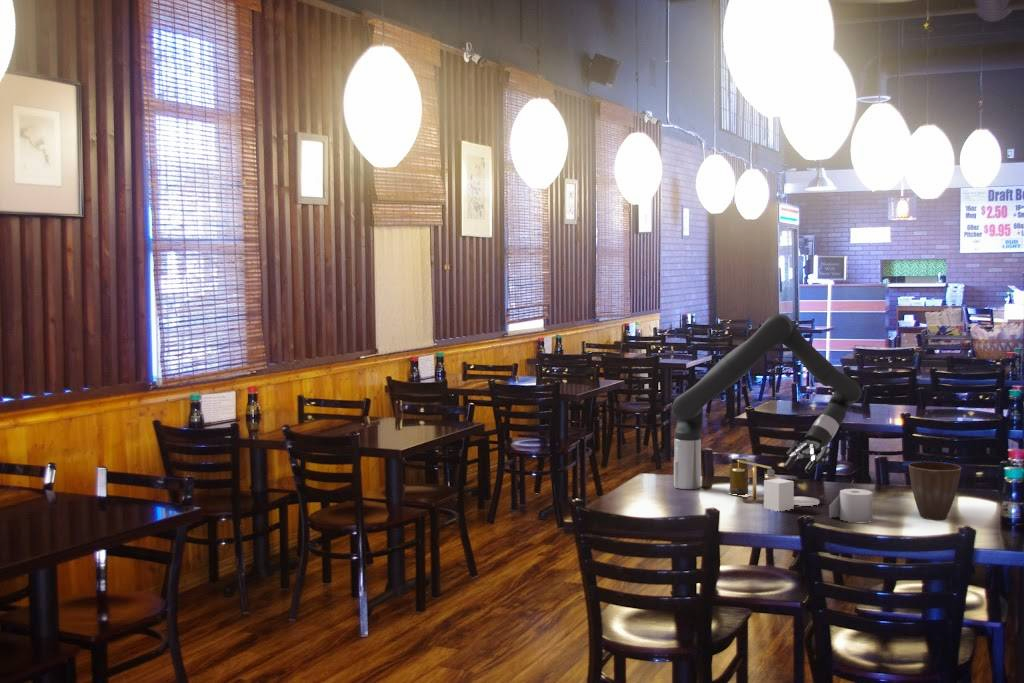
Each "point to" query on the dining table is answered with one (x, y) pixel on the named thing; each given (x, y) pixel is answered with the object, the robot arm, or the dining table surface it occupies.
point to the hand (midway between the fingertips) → (796, 469)
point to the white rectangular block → (778, 494)
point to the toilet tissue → (852, 505)
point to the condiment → (738, 478)
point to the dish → (805, 501)
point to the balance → (769, 475)
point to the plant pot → (934, 487)
